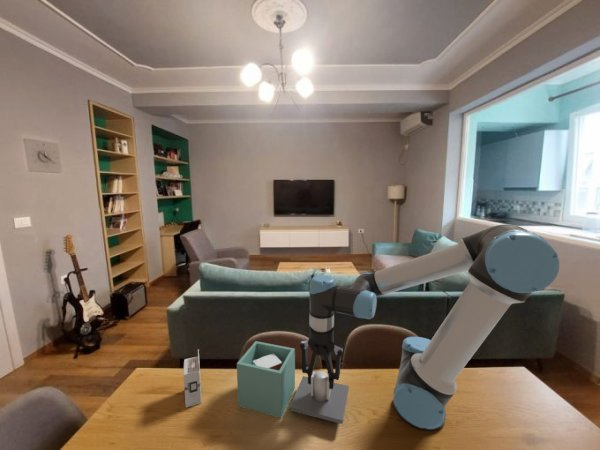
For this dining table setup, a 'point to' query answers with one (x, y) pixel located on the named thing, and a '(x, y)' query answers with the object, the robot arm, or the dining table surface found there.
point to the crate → (266, 380)
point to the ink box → (192, 381)
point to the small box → (269, 362)
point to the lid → (320, 399)
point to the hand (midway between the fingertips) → (320, 394)
